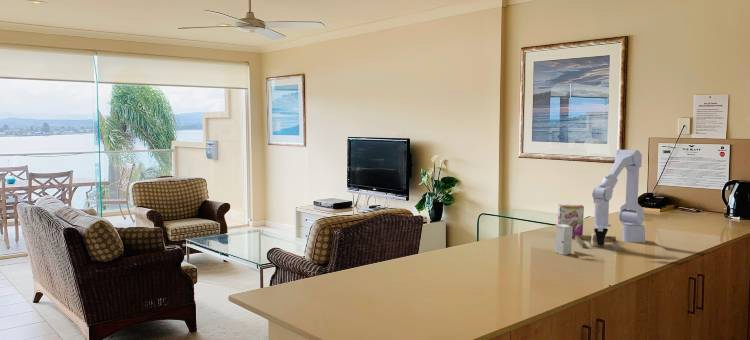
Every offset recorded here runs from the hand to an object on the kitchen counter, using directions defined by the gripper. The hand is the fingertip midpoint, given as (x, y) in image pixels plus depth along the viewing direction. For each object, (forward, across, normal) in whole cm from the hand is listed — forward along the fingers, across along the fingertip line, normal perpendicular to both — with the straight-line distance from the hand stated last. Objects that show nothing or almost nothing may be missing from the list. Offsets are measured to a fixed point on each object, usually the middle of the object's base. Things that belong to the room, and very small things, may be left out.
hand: (600, 245), depth 258 cm
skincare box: (+2, -14, +14) cm, 20 cm away
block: (+1, +4, +1) cm, 4 cm away
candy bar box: (+2, +22, +14) cm, 27 cm away
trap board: (+2, +7, +1) cm, 7 cm away
